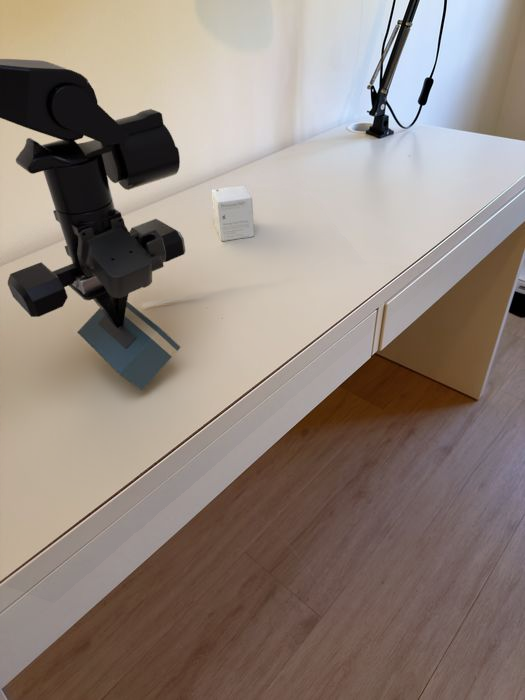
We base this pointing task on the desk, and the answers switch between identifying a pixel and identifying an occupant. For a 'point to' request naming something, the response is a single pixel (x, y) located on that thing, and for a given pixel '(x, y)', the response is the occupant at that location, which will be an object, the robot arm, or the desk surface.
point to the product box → (233, 213)
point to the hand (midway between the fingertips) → (118, 325)
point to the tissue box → (130, 345)
